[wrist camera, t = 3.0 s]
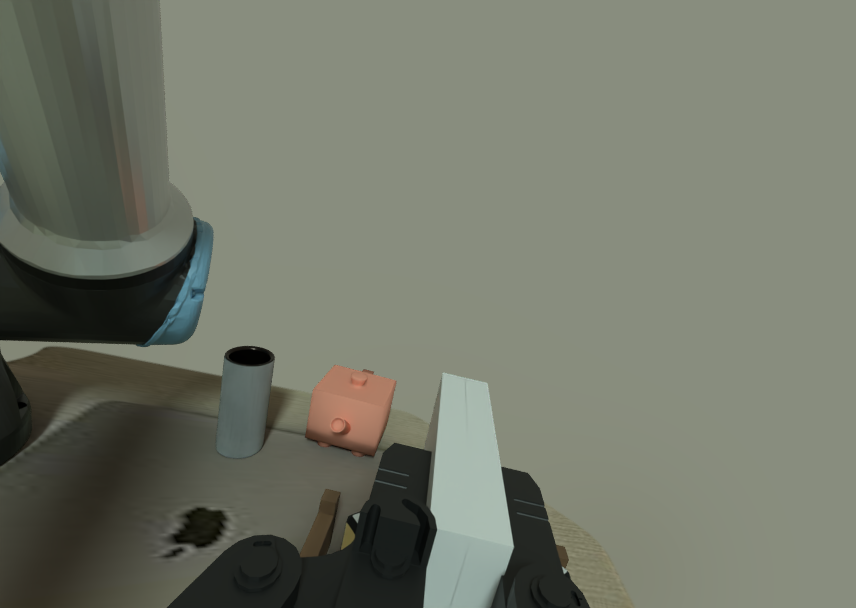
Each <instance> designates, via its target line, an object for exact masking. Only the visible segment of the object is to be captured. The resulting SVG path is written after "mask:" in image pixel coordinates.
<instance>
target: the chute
mask: <svg viewBox="0 0 856 608" xmlns="http://www.w3.org/2000/svg"><path fill="white" fill-rule="evenodd" d="M339 497H340V492H337V491H333V490H329V489H325V492H324V494H323V496H322V498H321V502H320V507H319V512H318V514H317V517H316V519H315V521H314V524H313V526H312V528H311V530H310V533H309V535H308V537H307V539H306V542H305V544H304V546H303V548H302V551H301V553H300V557H313V556H323V555H326V554H327V551H328V548H329V546H330V542H331V537H332V532H333V527H334V522H335V517H336V512H337V507H338V502H339ZM556 547H557V551H558V554H559V558H560V561H561V565H562V567H564V568H566V566H567V563H568V561H569V559H568V556H567V553H566V549H565V547H563V546H559V545H556Z"/></svg>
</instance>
